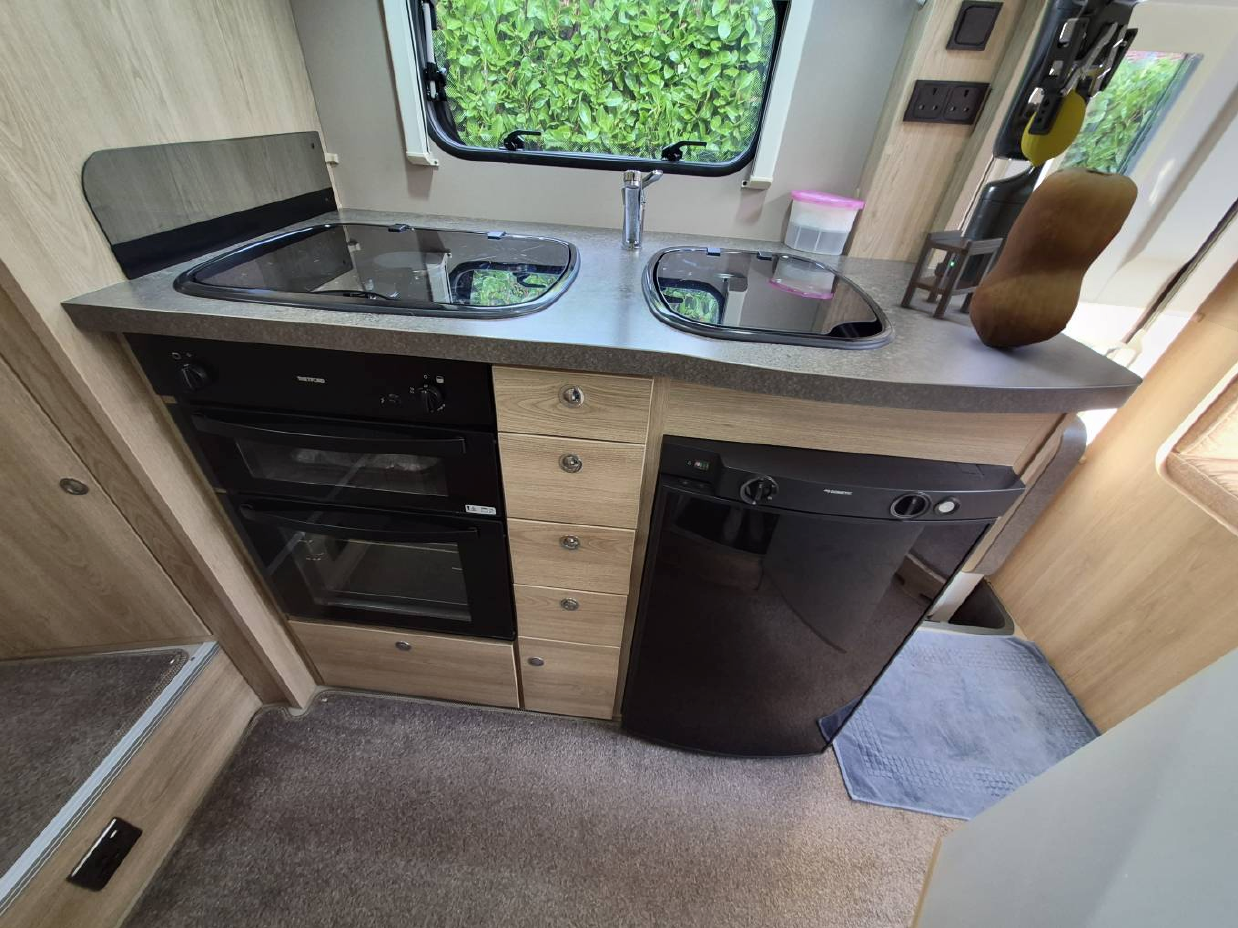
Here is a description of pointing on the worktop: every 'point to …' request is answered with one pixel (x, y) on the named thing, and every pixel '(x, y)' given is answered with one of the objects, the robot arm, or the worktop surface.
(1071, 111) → the lemon
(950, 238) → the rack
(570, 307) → the worktop surface
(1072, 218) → the butternut squash
